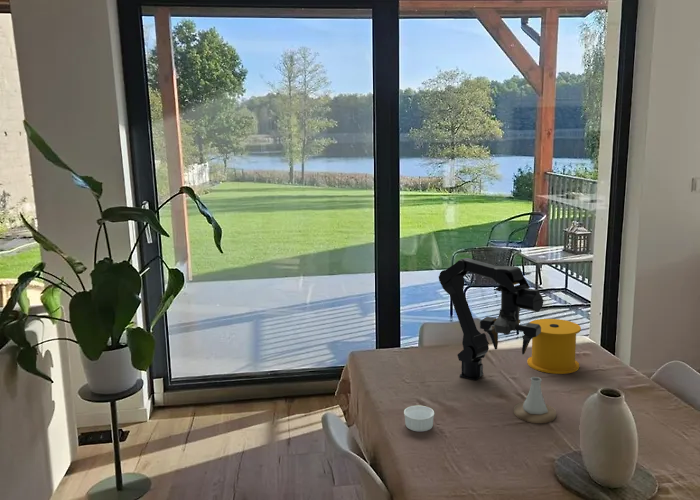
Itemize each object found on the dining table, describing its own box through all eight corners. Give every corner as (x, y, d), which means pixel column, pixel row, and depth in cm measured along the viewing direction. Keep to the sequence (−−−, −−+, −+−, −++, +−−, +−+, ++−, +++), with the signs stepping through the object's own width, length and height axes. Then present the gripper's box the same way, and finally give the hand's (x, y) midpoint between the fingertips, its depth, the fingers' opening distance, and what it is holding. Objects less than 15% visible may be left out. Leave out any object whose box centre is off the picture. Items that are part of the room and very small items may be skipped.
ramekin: (437, 420, 172) (437, 407, 171) (431, 434, 164) (431, 420, 163) (407, 417, 175) (407, 403, 174) (400, 430, 167) (400, 416, 166)
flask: (552, 414, 171) (553, 382, 170) (529, 416, 170) (530, 384, 168) (540, 403, 178) (541, 372, 177) (518, 406, 177) (519, 375, 175)
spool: (583, 360, 215) (585, 322, 212) (573, 377, 200) (574, 336, 197) (534, 353, 225) (535, 315, 222) (521, 368, 210) (522, 328, 207)
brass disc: (508, 416, 173) (508, 413, 173) (521, 402, 183) (521, 398, 182) (548, 427, 166) (549, 423, 166) (560, 411, 176) (561, 407, 175)
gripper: (473, 307, 186) (472, 354, 189) (530, 316, 176) (529, 364, 178) (486, 299, 195) (486, 344, 198) (542, 307, 185) (540, 353, 187)
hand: (509, 351), depth 190 cm, fingers open, 9 cm apart
